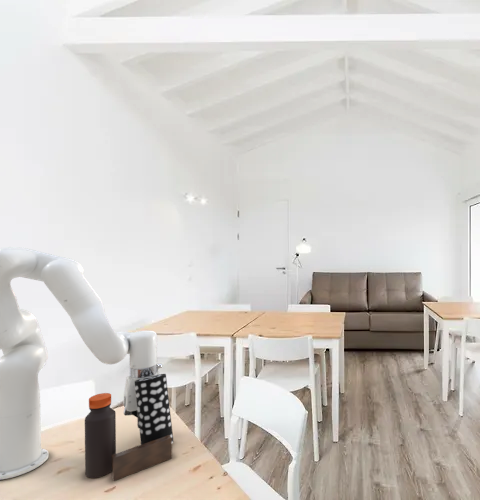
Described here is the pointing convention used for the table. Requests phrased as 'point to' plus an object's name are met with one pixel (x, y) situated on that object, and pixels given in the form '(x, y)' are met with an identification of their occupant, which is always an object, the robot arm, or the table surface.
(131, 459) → the bar
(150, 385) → the white-spotted black cylinder
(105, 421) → the bottle
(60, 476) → the table surface
